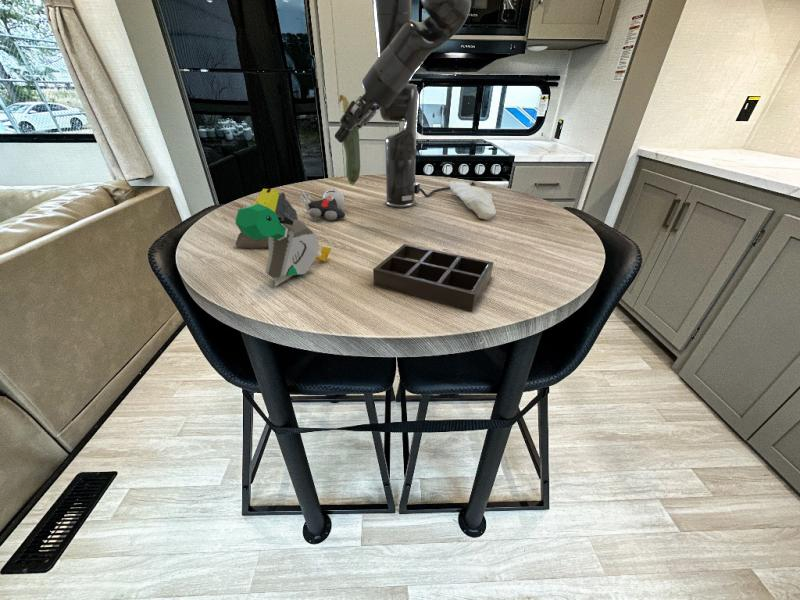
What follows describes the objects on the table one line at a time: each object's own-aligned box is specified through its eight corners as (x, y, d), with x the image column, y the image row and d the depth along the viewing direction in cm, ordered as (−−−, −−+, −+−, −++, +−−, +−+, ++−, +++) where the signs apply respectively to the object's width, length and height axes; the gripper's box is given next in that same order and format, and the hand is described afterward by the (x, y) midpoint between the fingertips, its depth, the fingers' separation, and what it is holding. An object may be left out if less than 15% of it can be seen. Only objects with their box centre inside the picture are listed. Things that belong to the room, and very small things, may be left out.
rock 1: (218, 223, 73) (277, 203, 71) (236, 206, 82) (289, 187, 79) (247, 264, 79) (301, 246, 77) (261, 244, 88) (310, 227, 86)
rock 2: (446, 193, 118) (461, 219, 92) (449, 178, 115) (465, 200, 89) (484, 198, 119) (509, 224, 93) (488, 183, 116) (515, 206, 90)
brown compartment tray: (403, 258, 73) (404, 243, 71) (490, 277, 65) (493, 262, 64) (373, 285, 63) (372, 269, 61) (472, 311, 55) (474, 294, 54)
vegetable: (365, 184, 85) (359, 94, 74) (356, 188, 82) (349, 94, 71) (350, 182, 86) (343, 94, 75) (341, 186, 83) (332, 94, 72)
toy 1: (336, 223, 71) (269, 180, 53) (320, 297, 70) (246, 279, 52) (313, 221, 74) (242, 180, 56) (297, 292, 73) (219, 274, 55)
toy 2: (286, 202, 89) (304, 182, 101) (291, 224, 93) (307, 203, 105) (341, 206, 88) (352, 186, 100) (343, 228, 93) (354, 206, 104)
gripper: (386, 63, 74) (343, 122, 83) (363, 60, 62) (316, 128, 72) (408, 91, 75) (364, 146, 85) (389, 92, 64) (340, 155, 74)
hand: (342, 137), depth 78 cm, fingers closed on vegetable, 4 cm apart
